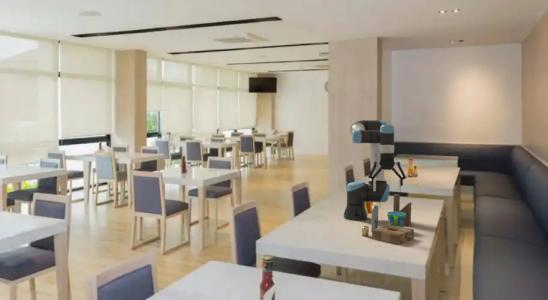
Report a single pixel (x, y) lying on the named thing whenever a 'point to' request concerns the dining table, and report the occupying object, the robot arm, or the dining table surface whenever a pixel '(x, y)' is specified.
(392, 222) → the snack cup
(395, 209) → the brown forked bracket
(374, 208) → the long steel pin
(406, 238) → the hole block
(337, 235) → the dining table surface
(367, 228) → the short brass pin
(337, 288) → the dining table surface
